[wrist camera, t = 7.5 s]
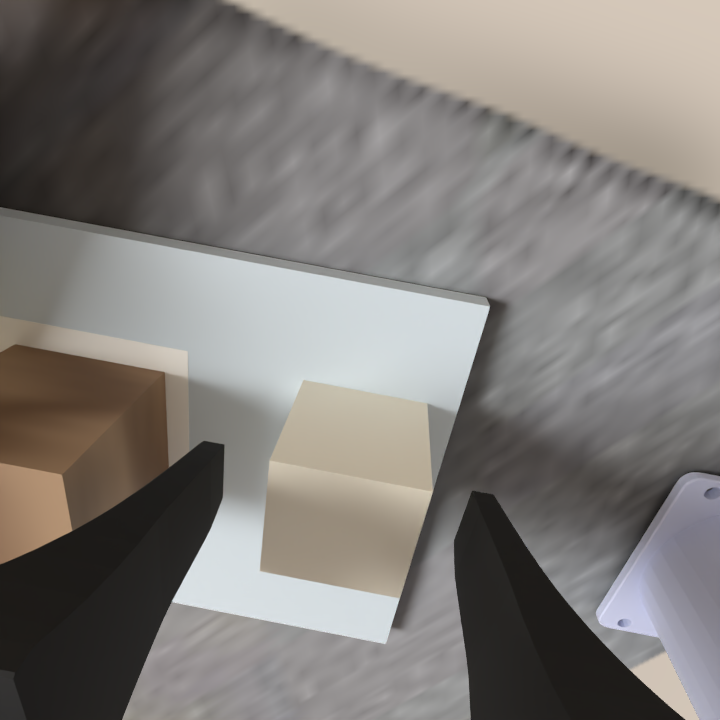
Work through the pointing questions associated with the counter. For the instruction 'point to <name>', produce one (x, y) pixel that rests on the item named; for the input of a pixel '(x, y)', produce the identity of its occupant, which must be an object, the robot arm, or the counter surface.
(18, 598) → the robot arm
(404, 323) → the board
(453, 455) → the counter surface
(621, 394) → the counter surface
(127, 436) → the walnut block
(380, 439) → the cream block
